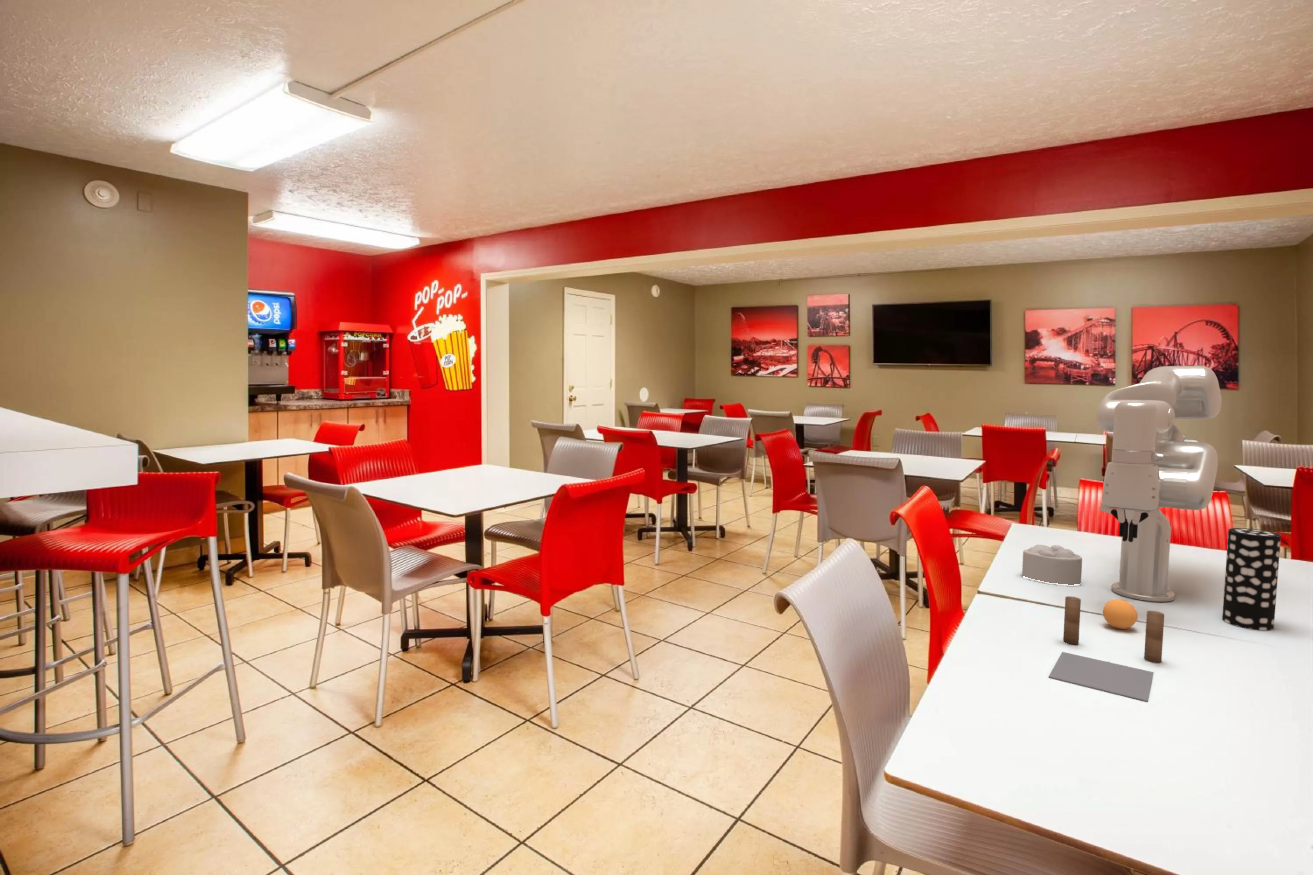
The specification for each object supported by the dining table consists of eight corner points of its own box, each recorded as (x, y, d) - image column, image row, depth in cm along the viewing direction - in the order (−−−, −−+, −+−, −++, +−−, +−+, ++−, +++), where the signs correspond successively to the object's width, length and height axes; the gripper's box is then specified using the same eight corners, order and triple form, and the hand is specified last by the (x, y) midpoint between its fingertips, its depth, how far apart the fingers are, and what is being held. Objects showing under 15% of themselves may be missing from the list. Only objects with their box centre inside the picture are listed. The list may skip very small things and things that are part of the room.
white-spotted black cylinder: (1253, 617, 146) (1259, 528, 144) (1284, 631, 138) (1292, 537, 136) (1212, 615, 147) (1218, 527, 145) (1241, 629, 138) (1248, 536, 137)
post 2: (1144, 655, 125) (1147, 609, 124) (1161, 659, 123) (1164, 612, 123) (1143, 660, 123) (1146, 613, 122) (1161, 664, 121) (1164, 616, 121)
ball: (1103, 620, 144) (1105, 593, 143) (1137, 627, 140) (1139, 599, 139) (1100, 628, 139) (1101, 600, 139) (1135, 635, 135) (1137, 606, 135)
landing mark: (1062, 652, 126) (1062, 651, 126) (1153, 673, 117) (1153, 672, 117) (1048, 677, 116) (1048, 676, 116) (1147, 701, 107) (1147, 700, 107)
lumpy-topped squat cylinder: (1032, 571, 182) (1034, 540, 182) (1086, 581, 173) (1088, 549, 172) (1018, 578, 176) (1019, 546, 175) (1073, 589, 166) (1075, 555, 165)
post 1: (1064, 638, 133) (1066, 595, 133) (1079, 642, 132) (1081, 598, 131) (1062, 642, 131) (1064, 598, 131) (1077, 646, 130) (1079, 601, 129)
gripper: (1177, 459, 142) (1171, 542, 143) (1094, 454, 152) (1089, 532, 153) (1175, 462, 136) (1170, 549, 138) (1089, 457, 146) (1085, 538, 147)
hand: (1127, 540), depth 145 cm, fingers closed
